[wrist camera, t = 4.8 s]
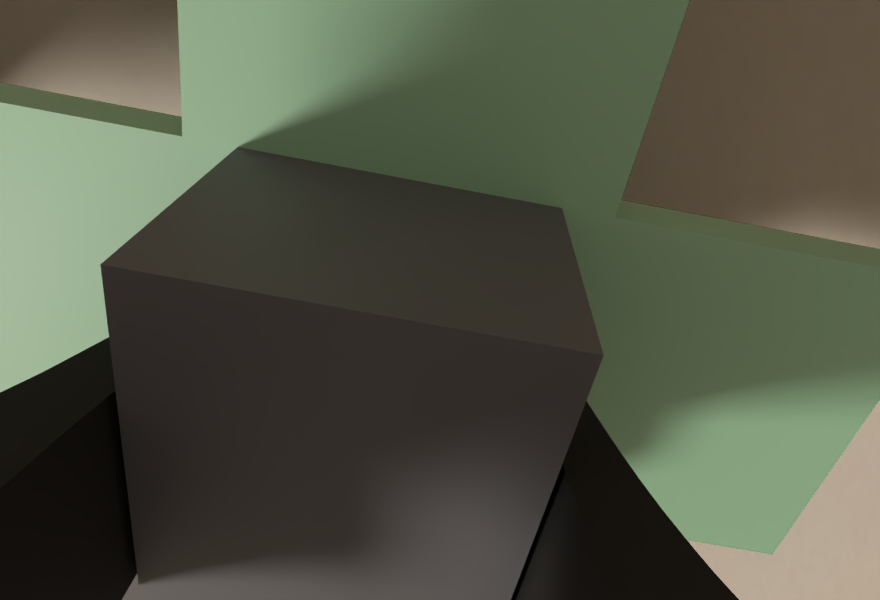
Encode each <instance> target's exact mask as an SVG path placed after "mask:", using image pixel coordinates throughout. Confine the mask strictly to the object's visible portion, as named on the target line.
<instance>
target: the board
mask: <svg viewBox="0 0 880 600" xmlns="http://www.w3.org/2000/svg"><path fill="white" fill-rule="evenodd" d="M689 1H690V0H177V11H178V37H179V63H180V89H181V115H182V117H179V116H174V115H169V114H164V113H158V112H153V111H148V110H142V109H137V108H132V107H127V106H121V105H116V104H111V103H106V102H100V101H95V100H90V99H84V98H79V97H74V96H69V95H63V94H58V93H53V92H47V91H42V90H37V89H32V88H26V87H21V86H16V85H11V84H5V83H0V392H2V391H4V390H6V389H8V388H11V387H13V386H15V385H17V384H19V383H21V382H23V381H25V380H27V379H29V378H31V377H33V376H36V375H38V374H40V373H42V372H44V371H46V370H48V369H50V368H51V367H53V366H55V365H57V364H59V363H61V362H63V361H65V360H67V359H68V358H70V357H72V356H74V355H76V354H78V353H80V352H82V351H84V350H85V349H87V348H89V347H91V346H93V345H95V344H97V343H99V342H101V341H102V340H104V339H106V338H108V337H109V341H110V349H111V358H112V366H113V375H114V383H115V391H116V400H117V408H118V416H119V425H120V433H121V442H122V450H123V458H124V467H125V475H126V483H127V492H128V500H129V509H130V517H131V525H132V534H133V542H134V550H135V559H136V567H137V576H138V584H139V592H140V600H511V598H512V595H513V593H514V590H515V587H516V585H517V582H518V579H519V577H520V574H521V572H522V569H523V566H524V564H525V561H526V558H527V556H528V553H529V551H530V548H531V545H532V543H533V540H534V537H535V535H536V532H537V530H538V527H539V524H540V522H541V519H542V516H543V514H544V511H545V508H546V506H547V503H548V501H549V498H550V495H551V493H552V490H553V487H554V485H555V482H556V480H557V477H558V474H559V472H560V469H561V466H562V464H563V461H564V459H565V456H566V453H567V451H568V448H569V445H570V443H571V440H572V437H573V435H574V432H575V430H576V427H577V424H578V422H579V419H580V416H581V414H582V411H583V409H584V406H585V403H586V401H587V402H588V404H589V405H590V407H591V409H592V410H593V412H594V413H595V415H596V416H597V418H598V419H599V421H600V422H601V424H602V425H603V427H604V428H605V430H606V431H607V433H608V434H609V436H610V437H611V439H612V440H613V442H614V443H615V445H616V446H617V448H618V449H619V451H620V452H621V454H622V455H623V456H624V458H625V459H626V461H627V462H628V464H629V465H630V466H631V468H632V469H633V471H634V472H635V473H636V475H637V476H638V478H639V479H640V480H641V482H642V483H643V484H644V486H645V487H646V489H647V490H648V491H649V492H650V494H651V495H652V496H653V498H654V499H655V500H656V502H657V503H658V504H659V506H660V507H661V508H662V510H663V511H664V512H665V513H666V515H667V516H668V517H669V518H670V520H671V521H672V522H673V523H674V525H675V526H676V527H677V528H678V530H679V531H680V532H681V533H682V535H683V536H684V537H685V538H686V540H690V541H695V542H701V543H707V544H713V545H719V546H725V547H731V548H736V549H742V550H748V551H754V552H760V553H766V554H772V555H773V553H774V552H775V550H776V549H777V547H778V546H779V544H780V543H781V541H782V540H783V539H784V537H785V536H786V534H787V533H788V531H789V530H790V528H791V527H792V526H793V524H794V523H795V521H796V520H797V518H798V517H799V515H800V514H801V513H802V511H803V510H804V508H805V507H806V505H807V504H808V502H809V501H810V500H811V498H812V497H813V495H814V494H815V492H816V491H817V489H818V488H819V487H820V485H821V484H822V482H823V481H824V479H825V478H826V476H827V475H828V473H829V472H830V471H831V469H832V468H833V466H834V465H835V463H836V462H837V460H838V459H839V458H840V456H841V455H842V453H843V452H844V450H845V449H846V447H847V446H848V445H849V443H850V442H851V440H852V439H853V437H854V436H855V434H856V433H857V432H858V430H859V429H860V427H861V426H862V424H863V423H864V421H865V420H866V418H867V417H868V416H869V414H870V413H871V411H872V410H873V408H874V407H875V405H876V404H877V403H878V401H879V400H880V249H876V248H871V247H866V246H860V245H855V244H850V243H845V242H839V241H834V240H829V239H823V238H818V237H813V236H808V235H802V234H797V233H792V232H786V231H781V230H776V229H771V228H765V227H760V226H755V225H750V224H744V223H739V222H734V221H728V220H723V219H718V218H713V217H707V216H702V215H697V214H691V213H686V212H681V211H676V210H670V209H665V208H660V207H655V206H649V205H644V204H639V203H633V202H628V201H623V200H621V199H622V196H623V193H624V190H625V187H626V184H627V182H628V179H629V176H630V173H631V170H632V167H633V164H634V161H635V158H636V155H637V152H638V150H639V147H640V144H641V141H642V138H643V135H644V132H645V129H646V126H647V123H648V120H649V118H650V115H651V112H652V109H653V106H654V103H655V100H656V97H657V94H658V91H659V88H660V86H661V83H662V80H663V77H664V74H665V71H666V68H667V65H668V62H669V59H670V56H671V54H672V51H673V48H674V45H675V42H676V39H677V36H678V33H679V30H680V27H681V24H682V22H683V19H684V16H685V13H686V10H687V7H688V4H689Z"/></svg>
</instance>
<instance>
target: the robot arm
mask: <svg viewBox="0 0 880 600" xmlns="http://www.w3.org/2000/svg"><path fill="white" fill-rule="evenodd" d="M136 575H137V567H136V559H135V550H134V542H133V534H132V525H131V517H130V509H129V500H128V492H127V483H126V475H125V467H124V458H123V450H122V442H121V433H120V425H119V416H118V408H117V400H116V391H115V383H114V375H113V366H112V358H111V349H110V341H109V337H108V338H106V339H104V340H102V341H101V342H99V343H97V344H95V345H93V346H91V347H89V348H87V349H85V350H84V351H82V352H80V353H78V354H76V355H74V356H72V357H70V358H68V359H67V360H65V361H63V362H61V363H59V364H57V365H55V366H53V367H51V368H50V369H48V370H46V371H44V372H42V373H40V374H38V375H36V376H33V377H31V378H29V379H27V380H25V381H23V382H21V383H19V384H17V385H15V386H13V387H11V388H8V389H6V390H4V391H2V392H0V600H122V598H123V597H124V595H125V593H126V592H127V590H128V588H129V587H130V585H131V583H132V581H133V580H134V578H135V576H136ZM511 600H739V599H738V598H737V597H736V596H735V595H734V594H733V593H732V592H731V591H730V590H729V588H728V587H727V586H726V585H725V584H724V583H723V582H722V581H721V580H720V579H719V577H718V576H717V575H716V574H715V573H714V572H713V571H712V570H711V568H710V567H709V566H708V565H707V564H706V563H705V561H704V560H703V559H702V558H701V557H700V556H699V554H698V553H697V552H696V551H695V550H694V548H693V547H692V546H691V545H690V543H689V542H688V541H687V540H686V538H685V537H684V536H683V535H682V533H681V532H680V531H679V530H678V528H677V527H676V526H675V525H674V523H673V522H672V521H671V520H670V518H669V517H668V516H667V515H666V513H665V512H664V511H663V510H662V508H661V507H660V506H659V504H658V503H657V502H656V500H655V499H654V498H653V496H652V495H651V494H650V492H649V491H648V490H647V489H646V487H645V486H644V484H643V483H642V482H641V480H640V479H639V478H638V476H637V475H636V473H635V472H634V471H633V469H632V468H631V466H630V465H629V464H628V462H627V461H626V459H625V458H624V456H623V455H622V454H621V452H620V451H619V449H618V448H617V446H616V445H615V443H614V442H613V440H612V439H611V437H610V436H609V434H608V433H607V431H606V430H605V428H604V427H603V425H602V424H601V422H600V421H599V419H598V418H597V416H596V415H595V413H594V412H593V410H592V409H591V407H590V405H589V404H588V402H587V401H586V403H585V406H584V409H583V411H582V414H581V416H580V419H579V422H578V424H577V427H576V430H575V432H574V435H573V437H572V440H571V443H570V445H569V448H568V451H567V453H566V456H565V459H564V461H563V464H562V466H561V469H560V472H559V474H558V477H557V480H556V482H555V485H554V487H553V490H552V493H551V495H550V498H549V501H548V503H547V506H546V508H545V511H544V514H543V516H542V519H541V522H540V524H539V527H538V530H537V532H536V535H535V537H534V540H533V543H532V545H531V548H530V551H529V553H528V556H527V558H526V561H525V564H524V566H523V569H522V572H521V574H520V577H519V579H518V582H517V585H516V587H515V590H514V593H513V595H512V598H511Z"/></svg>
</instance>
